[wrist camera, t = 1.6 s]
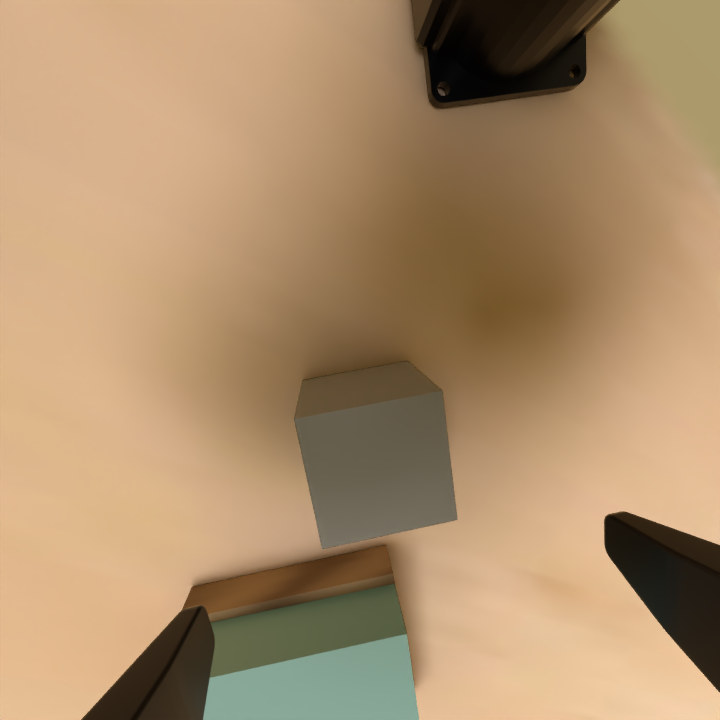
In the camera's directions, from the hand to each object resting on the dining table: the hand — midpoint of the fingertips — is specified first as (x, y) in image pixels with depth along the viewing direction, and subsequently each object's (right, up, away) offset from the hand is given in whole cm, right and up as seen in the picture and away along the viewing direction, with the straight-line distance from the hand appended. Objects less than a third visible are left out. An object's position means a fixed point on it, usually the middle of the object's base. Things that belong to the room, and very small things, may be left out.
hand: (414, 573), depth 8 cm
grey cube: (-1, +2, +9) cm, 10 cm away
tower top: (-3, -11, +10) cm, 15 cm away
